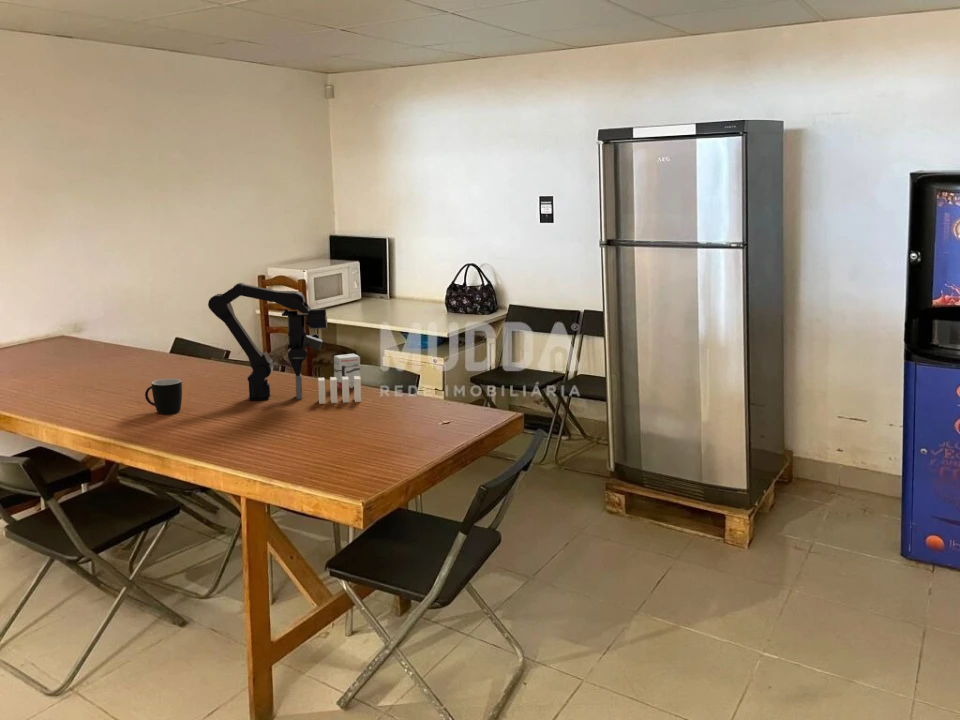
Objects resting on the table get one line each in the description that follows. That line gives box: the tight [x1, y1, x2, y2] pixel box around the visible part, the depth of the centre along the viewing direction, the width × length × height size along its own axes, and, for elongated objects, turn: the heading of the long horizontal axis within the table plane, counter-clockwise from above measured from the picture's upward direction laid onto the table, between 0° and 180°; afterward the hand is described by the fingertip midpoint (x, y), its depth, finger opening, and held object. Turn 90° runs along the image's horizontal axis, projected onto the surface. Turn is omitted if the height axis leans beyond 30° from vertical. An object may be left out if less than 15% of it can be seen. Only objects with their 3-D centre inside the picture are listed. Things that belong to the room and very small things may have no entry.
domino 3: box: [329, 376, 338, 404], centre depth 265 cm, size 2×4×8 cm, turn 14°
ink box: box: [333, 353, 361, 390], centre depth 285 cm, size 8×5×12 cm, turn 124°
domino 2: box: [317, 377, 326, 405], centre depth 264 cm, size 2×4×8 cm, turn 14°
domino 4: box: [341, 377, 350, 404], centre depth 266 cm, size 2×4×8 cm, turn 14°
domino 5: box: [353, 375, 362, 403], centre depth 267 cm, size 2×4×8 cm, turn 14°
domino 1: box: [294, 373, 303, 400], centre depth 269 cm, size 2×4×8 cm, turn 13°
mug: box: [144, 378, 183, 416], centre depth 249 cm, size 12×9×10 cm
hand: (297, 373), depth 268 cm, fingers open, 9 cm apart
